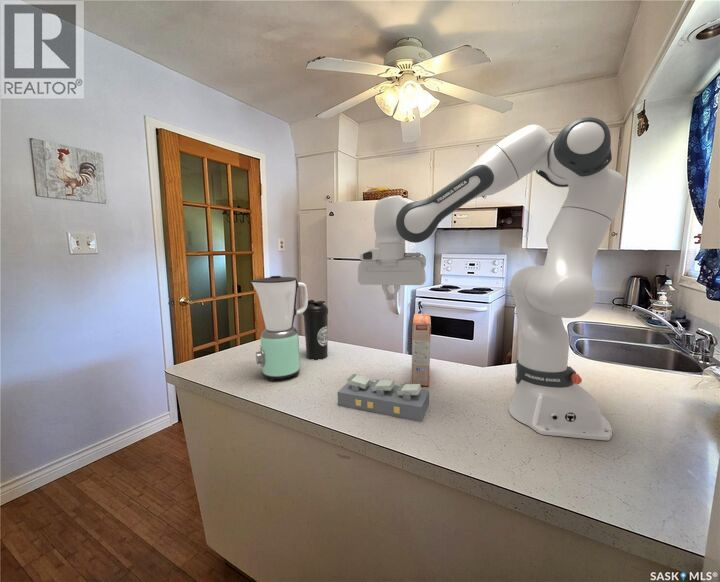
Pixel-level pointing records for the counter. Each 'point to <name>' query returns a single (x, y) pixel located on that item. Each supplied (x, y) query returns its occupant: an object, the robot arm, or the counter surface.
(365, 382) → the switch
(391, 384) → the switch
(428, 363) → the cracker box
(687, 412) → the counter surface
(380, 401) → the switch unit
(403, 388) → the switch
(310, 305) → the water bottle
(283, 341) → the blender
